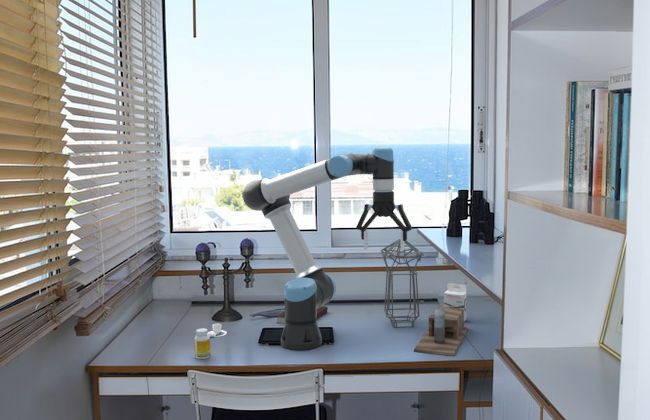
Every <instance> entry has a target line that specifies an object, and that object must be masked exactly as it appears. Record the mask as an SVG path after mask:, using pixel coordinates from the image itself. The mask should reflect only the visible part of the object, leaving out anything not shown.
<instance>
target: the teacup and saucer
mask: <svg viewBox="0 0 650 420" xmlns="http://www.w3.org/2000/svg"><path fill="white" fill-rule="evenodd" d="M222 327H223V324H222V323H217V322H216V323H213V324H212V330H210V331H208V334H207V335H209V336H210V338H213V337H214V338H217V337H219V338H220V337H224V336H226V335H227V334H228V331H226V330H223V329H222ZM221 332H222V333H223V334H221V335H220V333H221Z"/></svg>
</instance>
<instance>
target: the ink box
mask: <svg viewBox="0 0 650 420" xmlns="http://www.w3.org/2000/svg"><path fill="white" fill-rule="evenodd" d="M467 295H468V294H467V285H466V284H459V283H451V282H450V283H449V282H448V283H447V290H446V291H444V293H443V307H447V308H459V309H464V322H465V321H467V307H468V306H467V305H468V304H467V300H468V299H467V298H468V296H467Z"/></svg>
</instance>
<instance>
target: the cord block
mask: <svg viewBox="0 0 650 420" xmlns="http://www.w3.org/2000/svg"><path fill="white" fill-rule="evenodd" d="M433 311H434V342H435V343H437V344H443V343H444V340H445V332H446V331H447V332H453V329H454V322H445V310H444V309H440V308H438V309H436V308H435V309H434V310H433Z"/></svg>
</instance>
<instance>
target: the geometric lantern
mask: <svg viewBox="0 0 650 420" xmlns="http://www.w3.org/2000/svg"><path fill="white" fill-rule="evenodd" d="M404 245H406V246H407V247H408V248H407V249H405V247H404V250H403V251H401V238H398V239H397V240H395V241H394V242H392V243H390V244H388V245H386V246H385V247H383V248H382V249H380V253H381V256H382V259H383V261H384V264H385V268H386V278H385V293H384V295H385V296H384V314H385V317H386V318H387V319H389V320H390V321H389V322H390V324H391V325H392V327H393V328H399V329H400V328H402V326H398V323H411V325H409V326H403V328H414V327H415V321H416V320H417V319H418V318H419V317H420V306H419V305H420V304H419V290H418V289H419V288H418V286H419V285H418V272H417V271H416V270H417V267H418V266H417V265H418V263H420V261H421V258H422V257H423V256H425V254H424V253H423V252H421V251H420V250H419V248H416V247H415V246H414V245H412V244H411V243H410V242H409V241H408V240H406V241H404ZM406 251H408V252H407V253H406ZM393 252H395V253H396V254H393ZM411 252H414V253H416V254H415V255H413V254H412V255H409V254H410V253H411ZM401 253H403V255H401ZM387 258H389V259H390V260H392V261H393V263H392V265H391V267H390V268H389V266H388V263H387ZM408 258H411V259H409V260H408ZM397 259H398V261H397ZM401 259H403V261H404V262H401ZM415 259H416V262H415V265H414V267H413V268H411V266H410V264H409V263H411V262H412V261H414V260H415ZM395 264H396V266H395V267H394V265H395ZM399 265H406V266H407V267H408V268H405V267H403V268H400V270H409V273H393V272H394V271H395V270H396V269H397V268H398V266H399ZM393 276H409V307H405V308H404V307H403V308H401V307H400V308H399V307H398V308H395V307H394V290H393V289H394V288H393V287H394V284H393V283H394V280H393V279H394V278H393ZM412 297H413V298H412ZM412 301H413V308H412ZM390 303H391V305H390ZM400 310H403V311H404V310H409V311H408V312H407V313H408V314H407V315H394V311H400ZM411 310H412V311H413V312H412V313H411V314H410V312H411ZM416 314H417V315H416Z"/></svg>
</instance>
